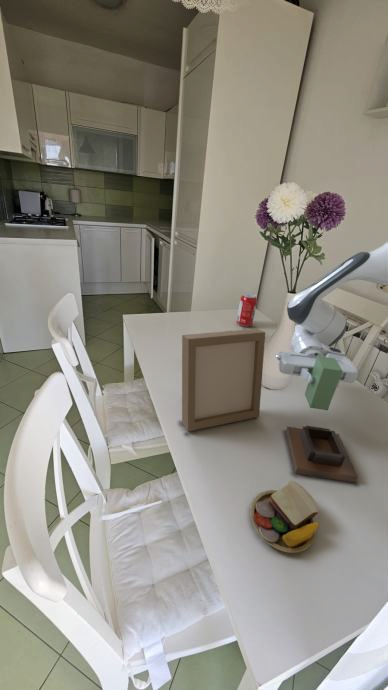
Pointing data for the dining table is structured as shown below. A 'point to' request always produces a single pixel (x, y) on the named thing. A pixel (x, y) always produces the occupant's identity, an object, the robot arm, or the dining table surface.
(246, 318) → the soda can
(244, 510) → the dining table surface
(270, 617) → the dining table surface
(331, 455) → the base
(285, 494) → the toy sandwich meal
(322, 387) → the back pad
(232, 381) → the photo frame
